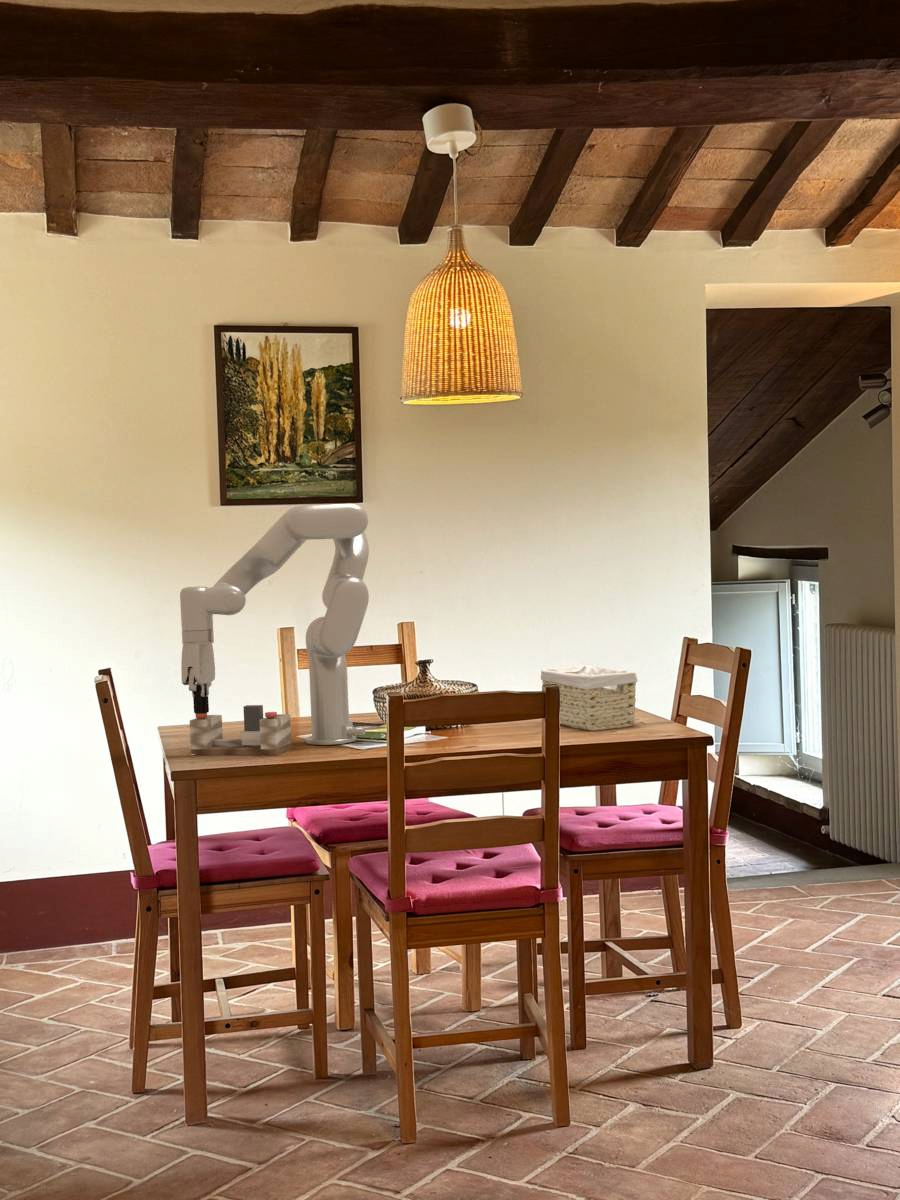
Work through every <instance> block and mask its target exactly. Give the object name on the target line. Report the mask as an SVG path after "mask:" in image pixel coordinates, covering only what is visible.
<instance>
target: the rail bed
mask: <svg viewBox="0 0 900 1200" xmlns="http://www.w3.org/2000/svg"><path fill="white" fill-rule="evenodd" d="M259 721H260V744H261V745H242V740H241V738H240V739H239V738H235V739H233V738H232V739H231V738H227V739H225V738H223V737H224V736H223V735H224V734H223V715H222V714H207V717H206V718H205V719H204V720H198V718H196V717H195V718H193V719H190V720H189V738H190V755H191V754H196V755H195V756H279V755H281V754H283V753H285V752H288V751H290V750H292V729H291V728H292V727H291V714H287V713H286V714H283V713H282V714H279V713H277V717H275V719H267V717H263V719H261V720H259Z"/></svg>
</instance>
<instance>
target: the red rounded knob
mask: <svg viewBox="0 0 900 1200" xmlns="http://www.w3.org/2000/svg"><path fill="white" fill-rule="evenodd" d="M194 715H195V719H196V718H198V720H204V719H205V718H206V717H207V715H208V713H194Z"/></svg>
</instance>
